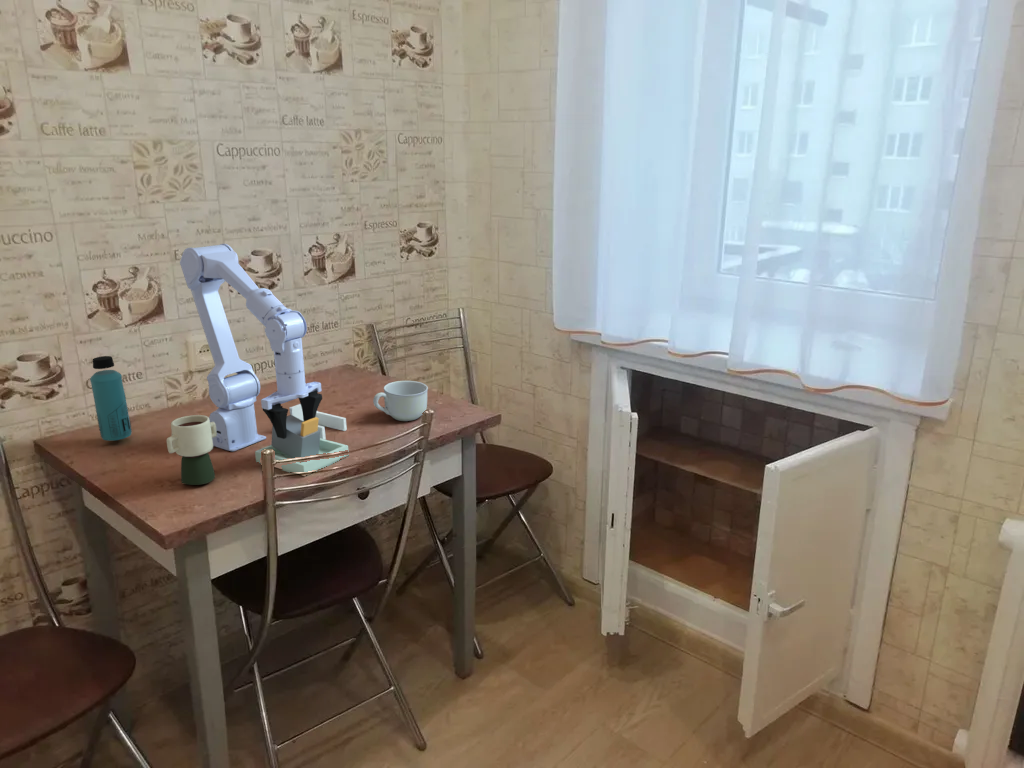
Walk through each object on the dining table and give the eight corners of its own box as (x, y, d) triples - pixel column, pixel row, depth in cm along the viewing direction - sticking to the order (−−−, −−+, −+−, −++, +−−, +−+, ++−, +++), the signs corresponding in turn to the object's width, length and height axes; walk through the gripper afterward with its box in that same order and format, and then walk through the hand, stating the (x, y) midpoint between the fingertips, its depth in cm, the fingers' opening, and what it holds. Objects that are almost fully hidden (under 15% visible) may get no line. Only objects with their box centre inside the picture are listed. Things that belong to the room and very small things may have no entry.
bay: (323, 440, 168) (320, 415, 166) (291, 431, 173) (289, 407, 172) (346, 430, 174) (344, 406, 172) (315, 422, 179) (313, 398, 178)
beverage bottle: (128, 446, 165) (113, 360, 159) (96, 448, 164) (80, 361, 158) (137, 435, 171) (123, 352, 166) (107, 437, 170) (91, 354, 164)
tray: (304, 477, 149) (303, 465, 148) (256, 462, 156) (254, 451, 155) (348, 456, 159) (348, 445, 158) (301, 443, 166) (300, 432, 166)
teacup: (420, 407, 190) (419, 377, 187) (435, 420, 180) (433, 389, 178) (367, 415, 184) (365, 385, 182) (379, 429, 175) (377, 397, 172)
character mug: (209, 468, 153) (201, 409, 149) (233, 475, 150) (225, 415, 146) (163, 488, 144) (153, 426, 140) (186, 496, 141) (177, 432, 137)
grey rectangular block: (300, 462, 154) (303, 425, 151) (271, 445, 158) (273, 408, 155) (318, 455, 158) (321, 418, 155) (289, 438, 162) (292, 402, 159)
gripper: (275, 382, 145) (282, 446, 149) (329, 365, 156) (334, 425, 160) (251, 376, 148) (258, 439, 152) (306, 360, 160) (311, 419, 164)
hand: (295, 431), depth 156 cm, fingers open, 7 cm apart
